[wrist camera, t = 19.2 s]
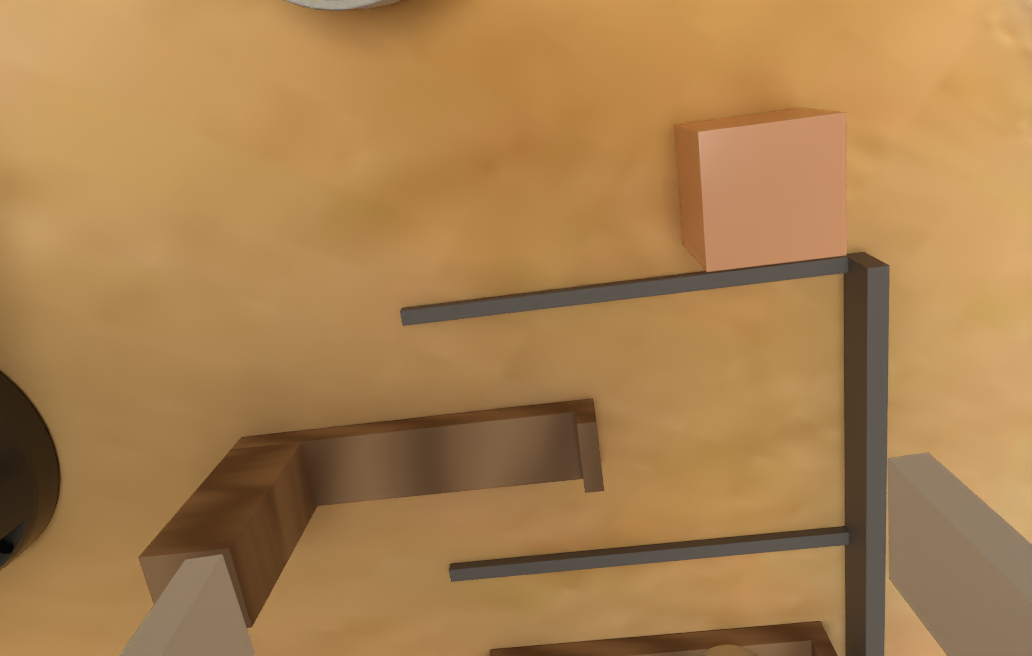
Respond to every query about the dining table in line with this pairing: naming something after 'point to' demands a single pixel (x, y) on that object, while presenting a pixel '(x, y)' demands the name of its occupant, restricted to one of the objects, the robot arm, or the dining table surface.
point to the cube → (763, 188)
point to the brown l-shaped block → (361, 482)
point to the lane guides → (862, 434)
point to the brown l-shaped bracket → (696, 643)
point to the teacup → (342, 4)
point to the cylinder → (727, 651)
